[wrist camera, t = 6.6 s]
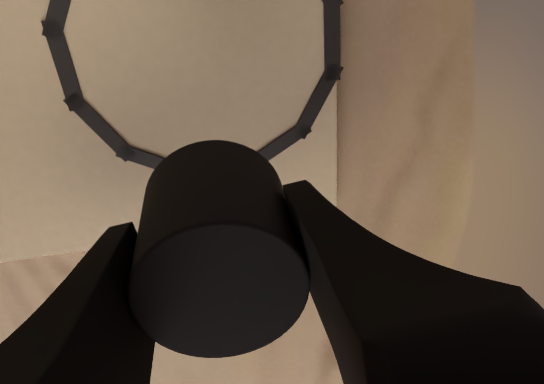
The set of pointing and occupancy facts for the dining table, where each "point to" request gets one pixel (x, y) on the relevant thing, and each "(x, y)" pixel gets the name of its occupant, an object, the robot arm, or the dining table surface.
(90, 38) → the face board
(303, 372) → the dining table surface
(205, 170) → the dot
